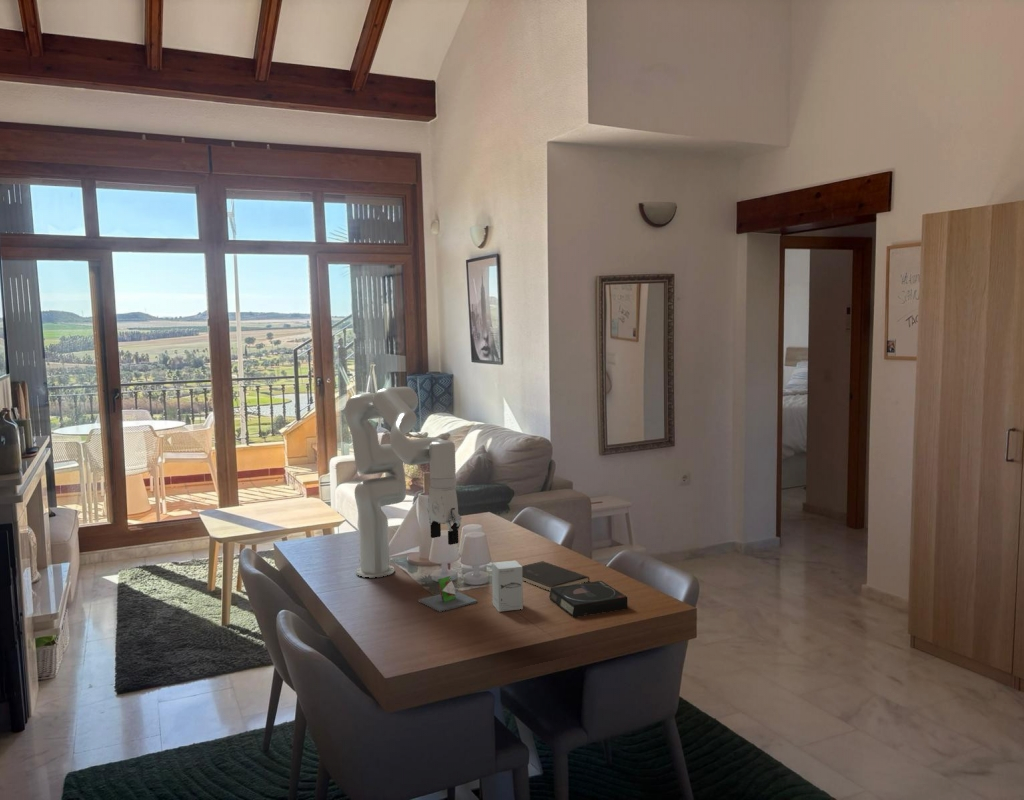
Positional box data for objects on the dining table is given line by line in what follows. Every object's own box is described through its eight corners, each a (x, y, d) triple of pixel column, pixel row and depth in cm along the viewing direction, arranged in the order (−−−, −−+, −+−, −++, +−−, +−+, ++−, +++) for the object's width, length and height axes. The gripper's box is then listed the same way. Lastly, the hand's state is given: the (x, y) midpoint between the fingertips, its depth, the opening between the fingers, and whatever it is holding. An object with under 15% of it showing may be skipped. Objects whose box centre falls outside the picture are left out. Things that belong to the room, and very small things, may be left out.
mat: (418, 601, 236) (418, 599, 236) (455, 592, 244) (455, 590, 243) (439, 612, 226) (439, 610, 226) (477, 602, 234) (477, 600, 234)
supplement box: (498, 612, 225) (497, 568, 224) (492, 604, 232) (491, 561, 231) (523, 609, 227) (522, 566, 226) (516, 601, 234) (515, 559, 233)
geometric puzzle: (426, 591, 236) (435, 573, 232) (444, 586, 241) (454, 568, 237) (439, 610, 233) (449, 592, 229) (457, 604, 237) (467, 586, 233)
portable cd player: (549, 601, 235) (548, 588, 235) (601, 593, 241) (601, 580, 240) (572, 619, 219) (572, 605, 219) (627, 610, 225) (627, 596, 225)
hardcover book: (550, 593, 242) (550, 586, 242) (505, 576, 260) (505, 569, 260) (589, 583, 251) (589, 576, 251) (544, 567, 270) (544, 560, 270)
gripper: (416, 480, 237) (418, 536, 238) (447, 489, 223) (449, 548, 225) (438, 477, 241) (440, 532, 243) (470, 485, 228) (471, 544, 229)
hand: (444, 540), depth 234 cm, fingers open, 9 cm apart
